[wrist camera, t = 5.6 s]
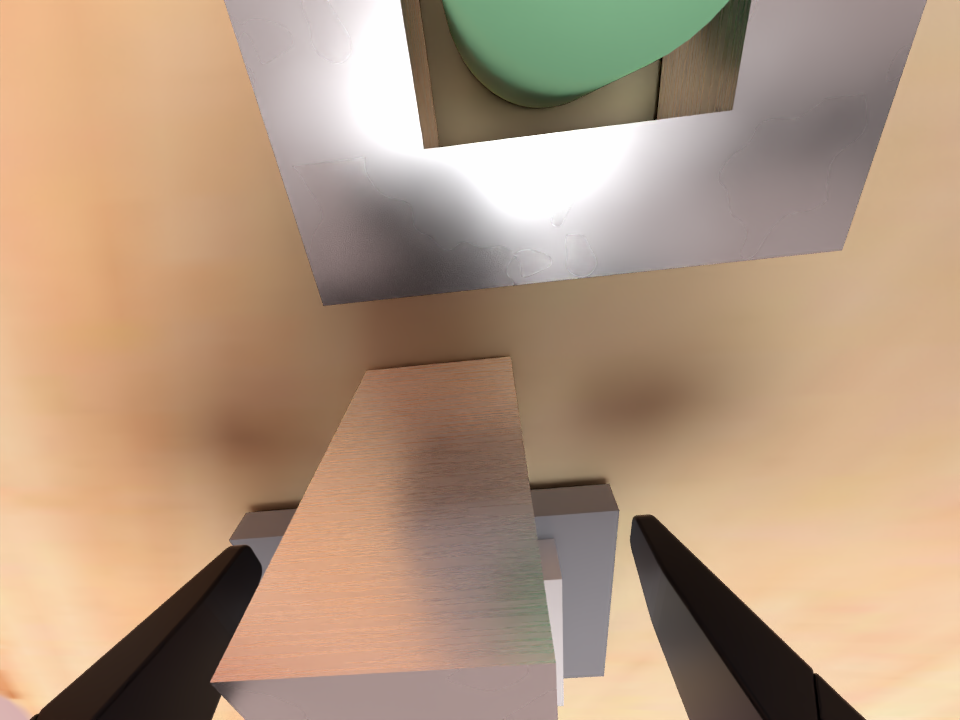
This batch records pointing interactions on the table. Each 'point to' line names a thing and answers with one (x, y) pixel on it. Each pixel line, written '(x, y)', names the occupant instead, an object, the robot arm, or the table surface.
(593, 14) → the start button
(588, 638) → the grey slotted socket base
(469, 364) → the block
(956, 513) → the table surface
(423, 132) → the square peg board
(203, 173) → the table surface
